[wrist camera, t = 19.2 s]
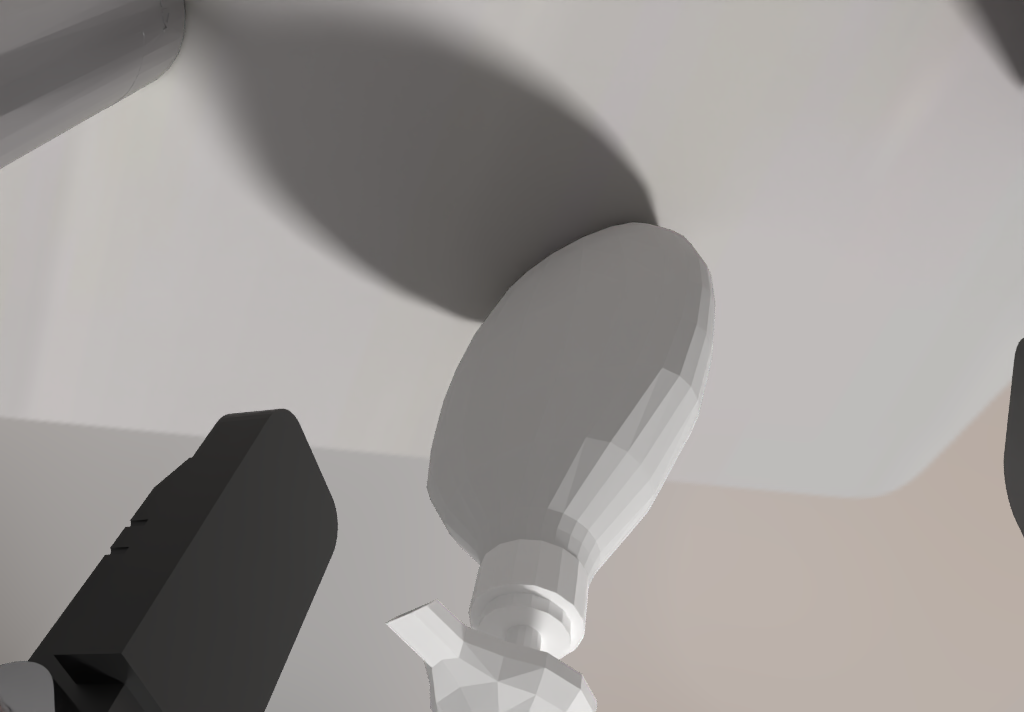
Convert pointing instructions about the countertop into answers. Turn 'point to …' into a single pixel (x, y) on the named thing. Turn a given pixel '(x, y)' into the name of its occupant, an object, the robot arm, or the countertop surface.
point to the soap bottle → (559, 457)
